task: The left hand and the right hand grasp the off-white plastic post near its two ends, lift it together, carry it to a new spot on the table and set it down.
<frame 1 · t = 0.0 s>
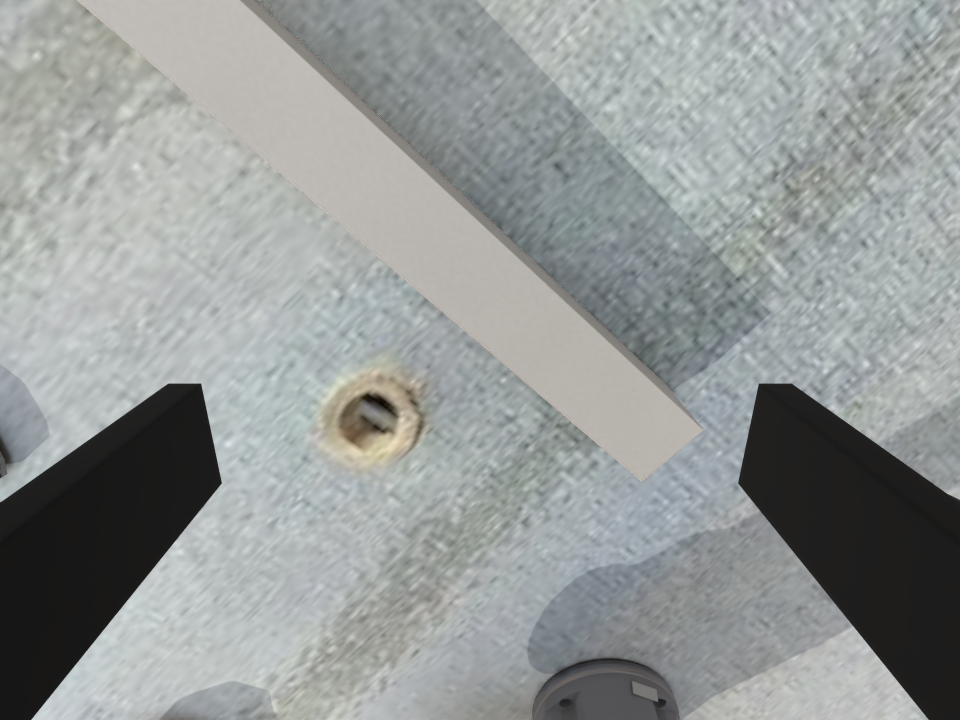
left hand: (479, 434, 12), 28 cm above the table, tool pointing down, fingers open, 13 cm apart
post: (369, 162, 36), on the table
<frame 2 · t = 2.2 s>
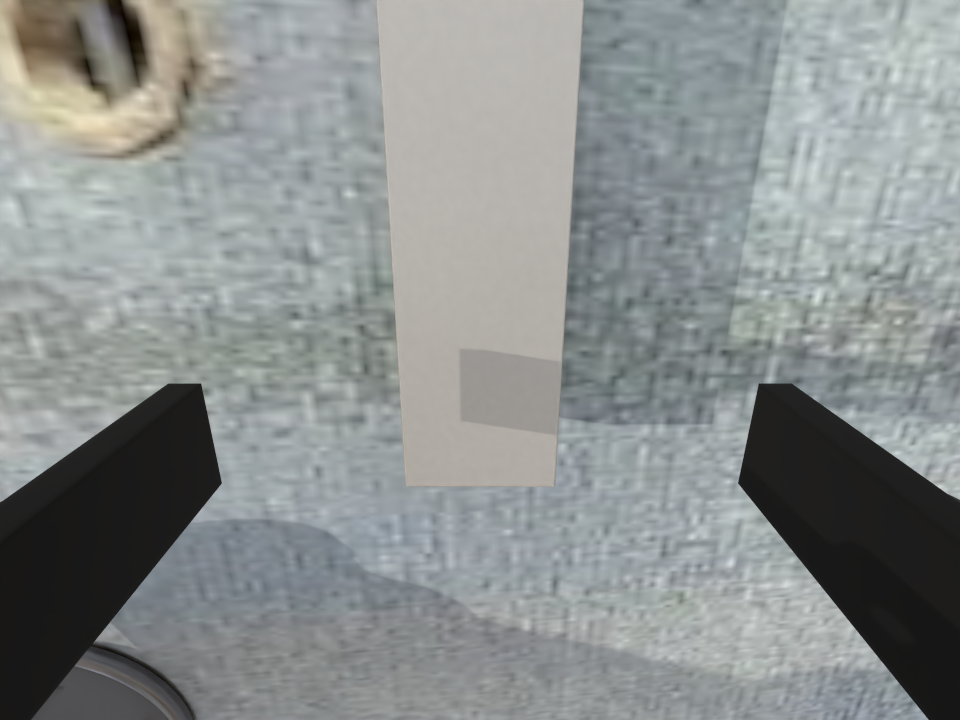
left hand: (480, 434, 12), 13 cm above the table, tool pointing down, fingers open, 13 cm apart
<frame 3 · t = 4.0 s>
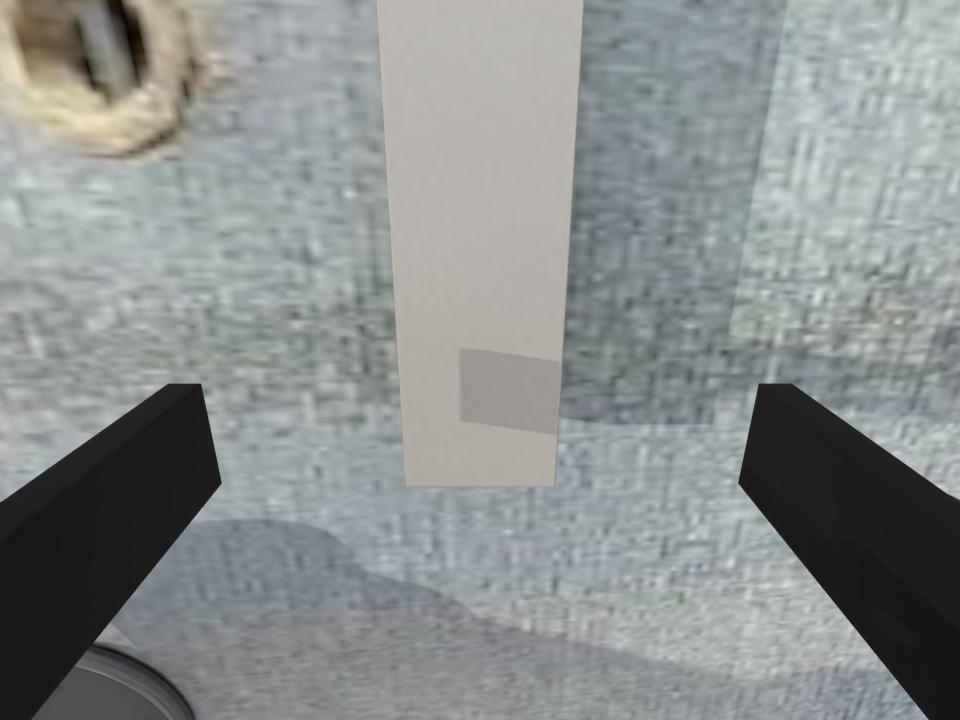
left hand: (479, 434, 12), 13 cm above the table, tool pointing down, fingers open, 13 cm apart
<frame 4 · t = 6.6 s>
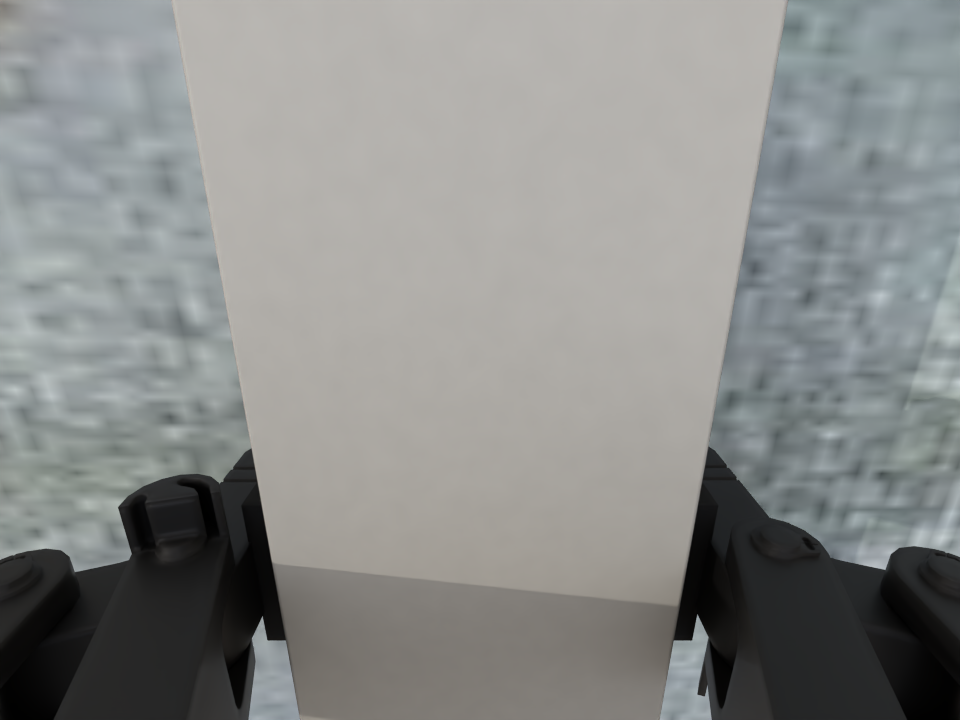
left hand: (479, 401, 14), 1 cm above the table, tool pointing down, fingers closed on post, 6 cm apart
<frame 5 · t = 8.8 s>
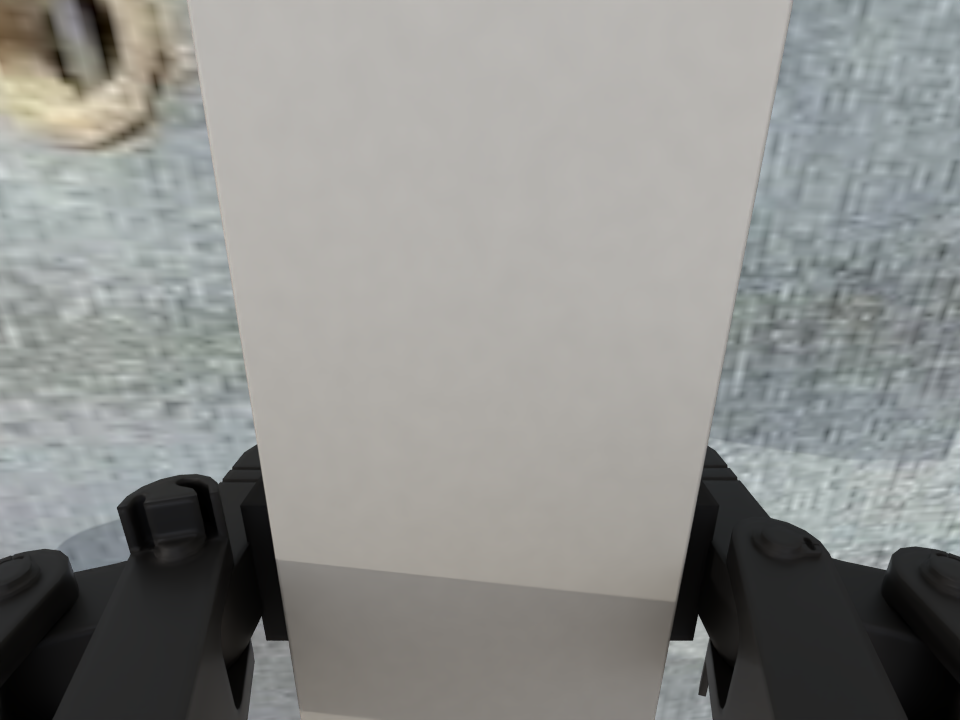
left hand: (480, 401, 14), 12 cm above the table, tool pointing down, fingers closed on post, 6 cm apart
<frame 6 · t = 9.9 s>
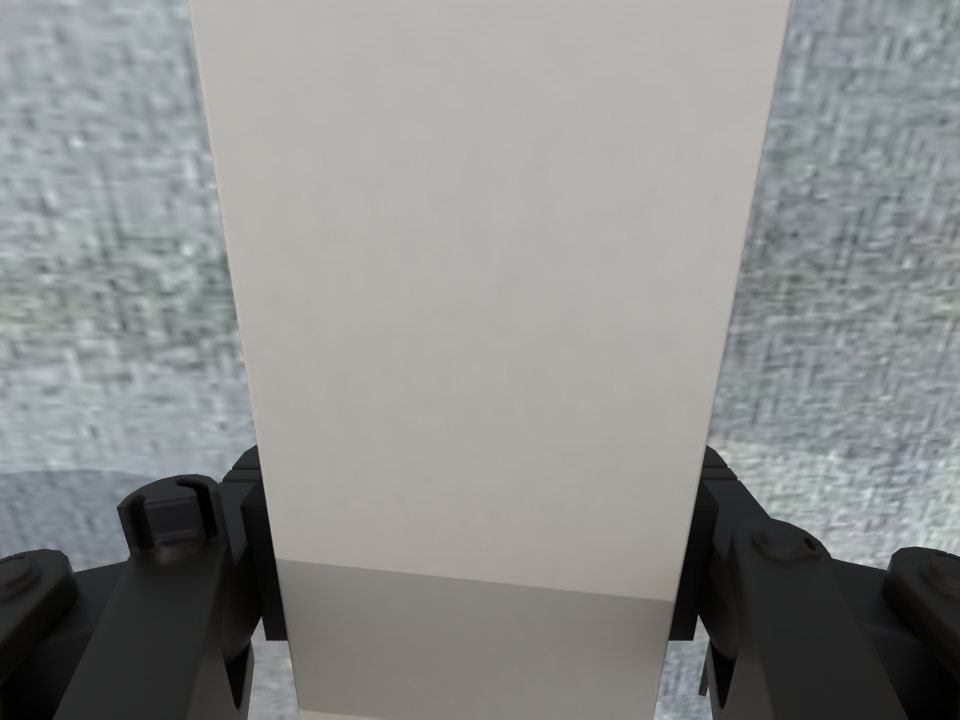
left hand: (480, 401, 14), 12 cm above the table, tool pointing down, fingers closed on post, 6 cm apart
when the left hand's fingers open (1 cm above the table, at t = 13.5 s): post stays where it is, held by the right hand.
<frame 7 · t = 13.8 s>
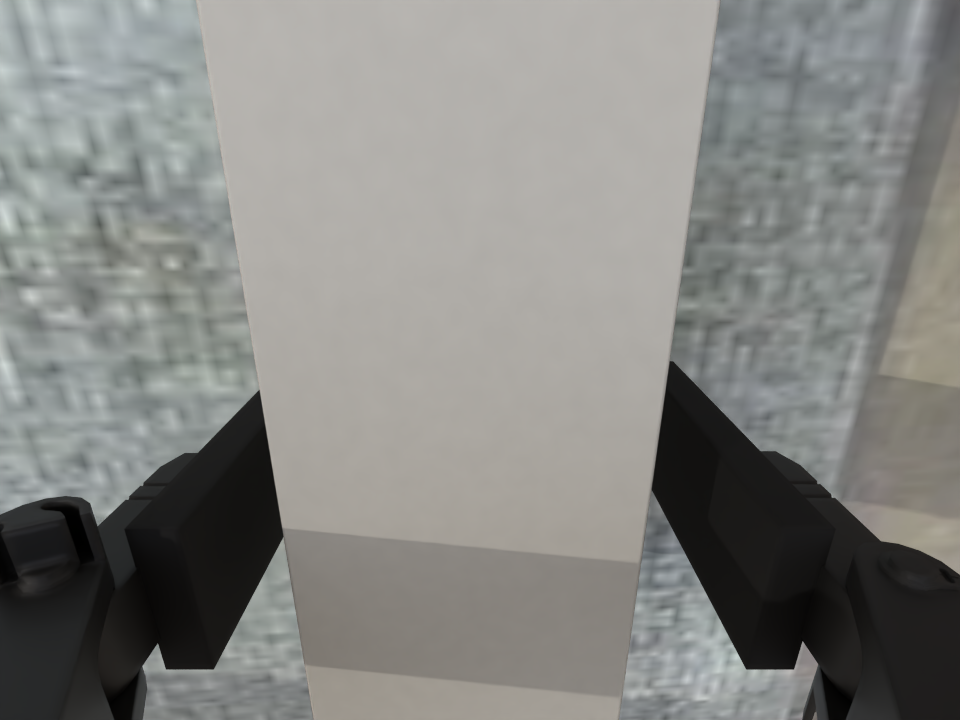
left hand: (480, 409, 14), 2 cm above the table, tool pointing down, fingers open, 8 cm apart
when the right hand's fingers open (3 cm above the table, at t = 13.8 s): post stays where it is, on the table.
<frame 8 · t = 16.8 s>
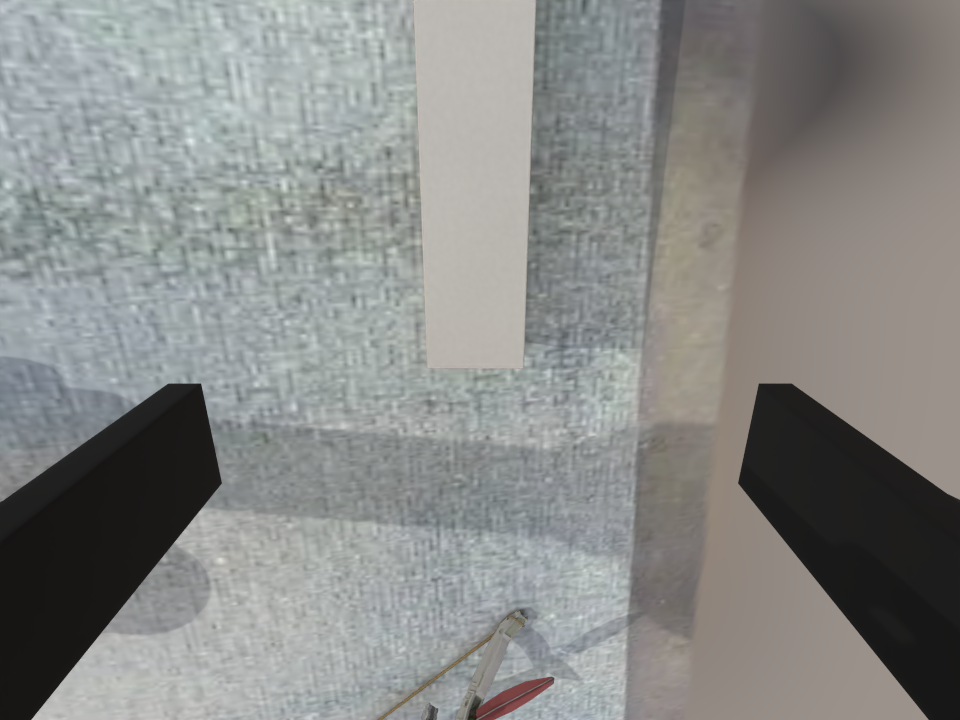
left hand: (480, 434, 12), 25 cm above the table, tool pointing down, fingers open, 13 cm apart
bow: (397, 703, 51), on the table
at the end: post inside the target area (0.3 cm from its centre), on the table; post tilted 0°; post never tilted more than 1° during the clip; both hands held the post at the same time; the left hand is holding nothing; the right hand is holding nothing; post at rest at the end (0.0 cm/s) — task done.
